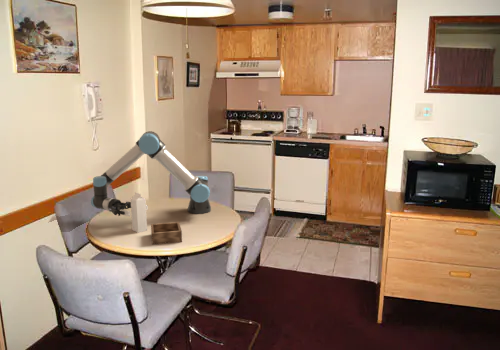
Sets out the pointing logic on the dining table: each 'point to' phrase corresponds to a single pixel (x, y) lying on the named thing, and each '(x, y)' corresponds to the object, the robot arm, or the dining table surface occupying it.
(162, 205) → the dining table surface
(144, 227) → the milk
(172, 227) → the box
